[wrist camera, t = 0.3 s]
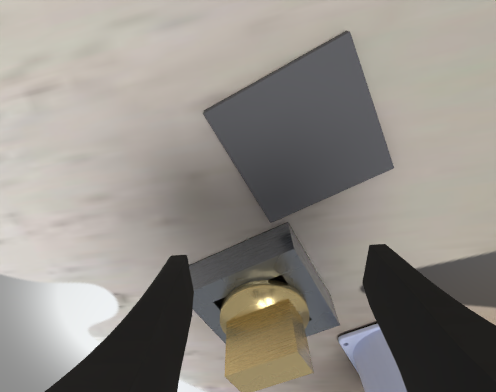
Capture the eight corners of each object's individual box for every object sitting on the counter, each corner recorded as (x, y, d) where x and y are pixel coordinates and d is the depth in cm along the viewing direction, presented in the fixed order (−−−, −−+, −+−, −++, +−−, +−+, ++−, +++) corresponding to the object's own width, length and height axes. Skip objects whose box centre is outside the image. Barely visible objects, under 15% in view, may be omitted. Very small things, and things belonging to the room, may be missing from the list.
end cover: (313, 293, 27) (336, 384, 21) (245, 318, 29) (247, 411, 22) (280, 241, 24) (296, 328, 18) (206, 272, 26) (196, 363, 19)
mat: (390, 164, 21) (394, 168, 21) (269, 218, 23) (270, 222, 23) (346, 30, 17) (349, 31, 16) (204, 110, 19) (203, 113, 18)
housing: (330, 295, 28) (340, 325, 25) (240, 328, 30) (240, 359, 27) (288, 222, 23) (294, 249, 21) (186, 266, 25) (180, 296, 23)
